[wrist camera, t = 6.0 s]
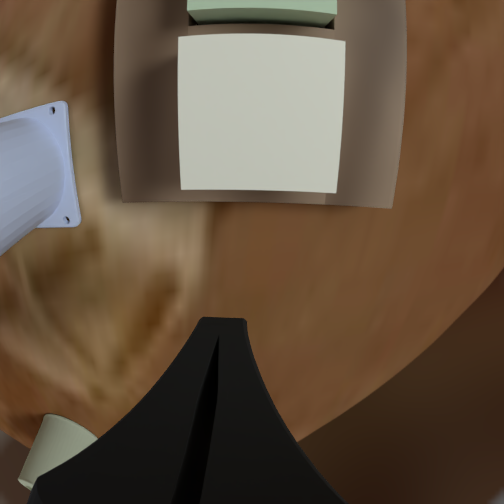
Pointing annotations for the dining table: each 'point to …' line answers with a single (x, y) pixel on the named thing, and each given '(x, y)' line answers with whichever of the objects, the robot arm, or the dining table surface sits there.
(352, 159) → the brown tray
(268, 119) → the cream button
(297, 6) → the sage button
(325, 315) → the dining table surface
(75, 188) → the robot arm
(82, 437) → the pale green cup
